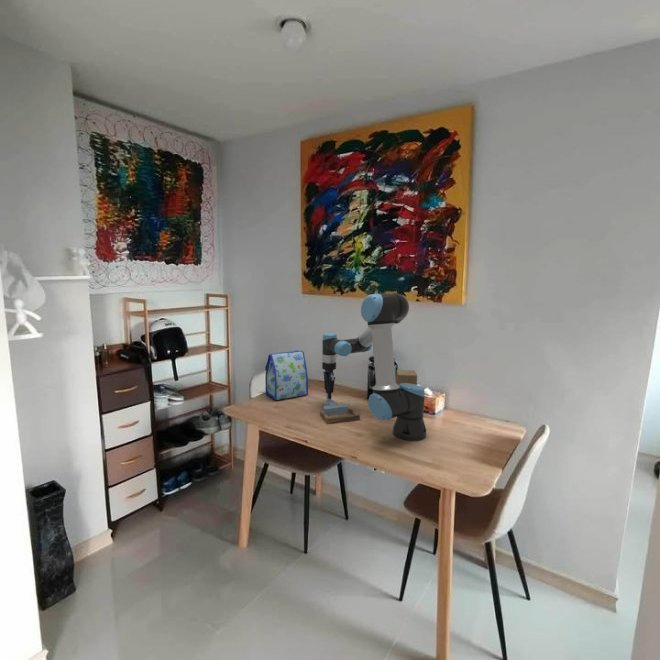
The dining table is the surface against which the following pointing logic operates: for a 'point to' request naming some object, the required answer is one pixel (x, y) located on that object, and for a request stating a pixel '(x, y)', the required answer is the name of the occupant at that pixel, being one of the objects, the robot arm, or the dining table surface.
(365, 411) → the dining table surface
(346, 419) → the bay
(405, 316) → the robot arm
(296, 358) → the lunch bag
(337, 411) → the tee
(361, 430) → the dining table surface
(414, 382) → the wooden block
